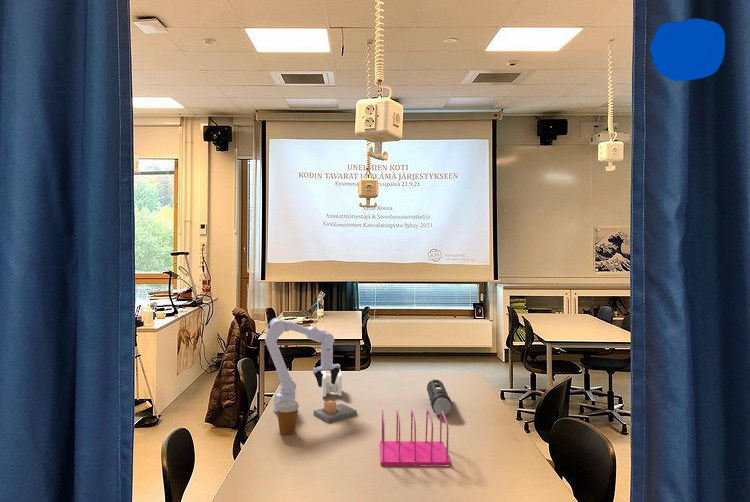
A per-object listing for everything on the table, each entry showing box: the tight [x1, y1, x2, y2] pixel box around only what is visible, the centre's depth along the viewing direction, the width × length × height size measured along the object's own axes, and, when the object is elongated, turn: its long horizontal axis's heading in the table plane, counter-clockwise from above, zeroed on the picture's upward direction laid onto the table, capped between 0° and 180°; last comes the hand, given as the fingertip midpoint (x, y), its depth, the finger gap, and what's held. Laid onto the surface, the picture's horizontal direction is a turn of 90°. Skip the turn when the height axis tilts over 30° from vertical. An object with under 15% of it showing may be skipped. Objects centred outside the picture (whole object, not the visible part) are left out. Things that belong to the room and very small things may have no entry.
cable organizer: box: [320, 368, 343, 398], centre depth 246 cm, size 15×11×12 cm
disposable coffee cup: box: [276, 400, 299, 436], centre depth 197 cm, size 10×10×12 cm
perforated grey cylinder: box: [426, 379, 453, 417], centre depth 227 cm, size 10×28×10 cm, turn 179°
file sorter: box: [379, 408, 451, 467], centre depth 176 cm, size 17×25×16 cm
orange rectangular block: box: [323, 399, 337, 414], centre depth 216 cm, size 4×4×6 cm
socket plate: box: [313, 403, 358, 424], centre depth 217 cm, size 16×12×2 cm
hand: (326, 385), depth 228 cm, fingers open, 7 cm apart
